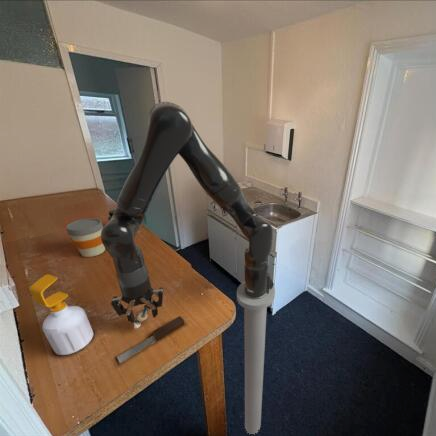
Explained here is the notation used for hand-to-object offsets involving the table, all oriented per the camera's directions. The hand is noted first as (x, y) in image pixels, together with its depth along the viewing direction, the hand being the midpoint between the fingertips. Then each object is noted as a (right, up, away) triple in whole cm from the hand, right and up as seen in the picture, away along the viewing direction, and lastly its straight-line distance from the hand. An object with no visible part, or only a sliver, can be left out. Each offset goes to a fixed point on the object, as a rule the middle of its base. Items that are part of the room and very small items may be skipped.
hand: (144, 318), depth 76 cm
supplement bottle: (-49, +26, +54) cm, 77 cm away
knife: (+5, -6, -2) cm, 8 cm away
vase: (0, -2, +1) cm, 2 cm away
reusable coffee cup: (-47, +17, +35) cm, 61 cm away
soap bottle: (-18, -5, -5) cm, 19 cm away
